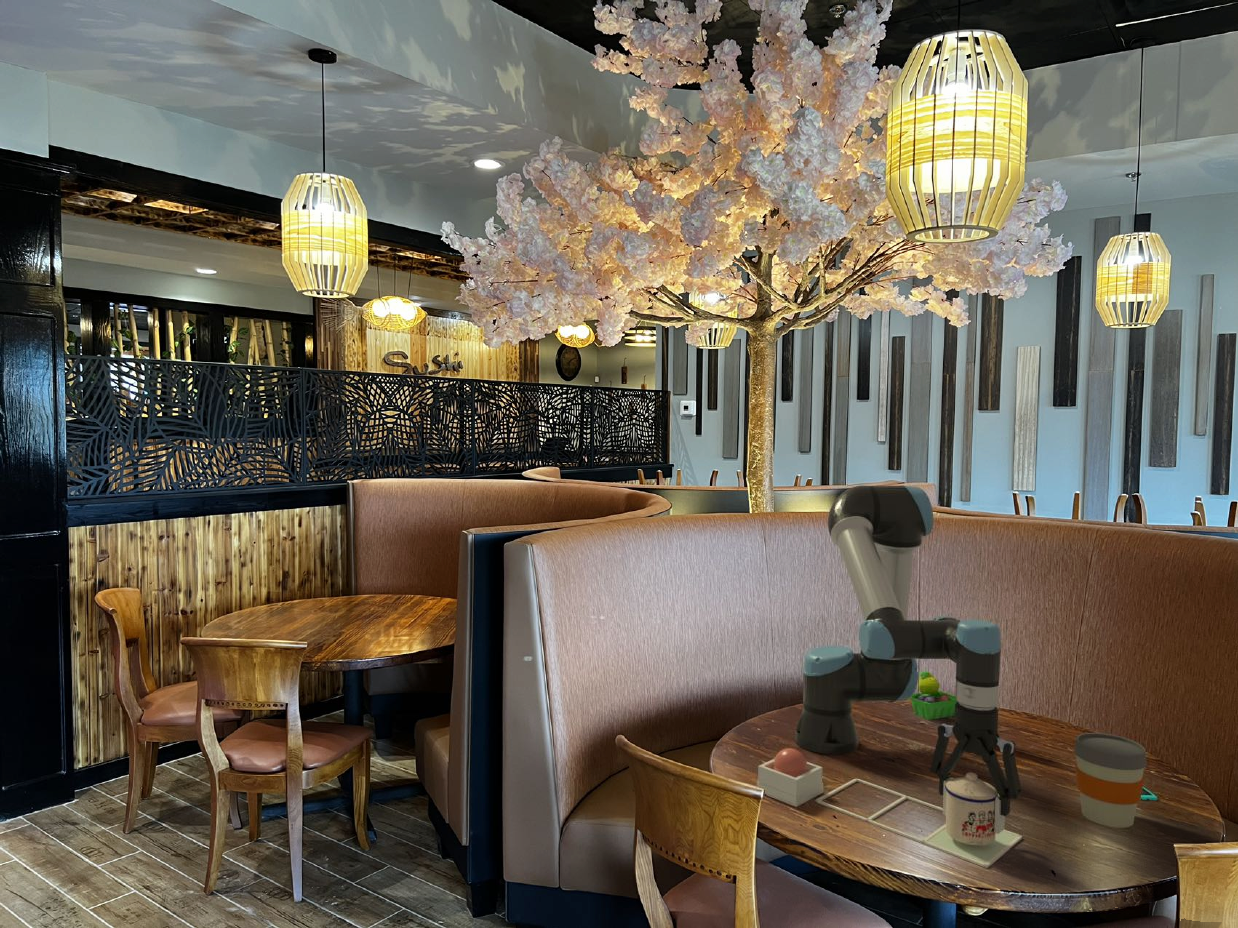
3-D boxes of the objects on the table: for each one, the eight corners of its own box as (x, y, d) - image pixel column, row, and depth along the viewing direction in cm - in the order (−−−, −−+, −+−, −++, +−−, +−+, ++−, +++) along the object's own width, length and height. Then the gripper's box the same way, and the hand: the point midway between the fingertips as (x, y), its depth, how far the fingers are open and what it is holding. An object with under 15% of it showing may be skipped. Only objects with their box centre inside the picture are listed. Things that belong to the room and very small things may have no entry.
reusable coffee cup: (1114, 801, 175) (1116, 731, 174) (1159, 830, 163) (1162, 754, 162) (1058, 804, 174) (1061, 733, 173) (1100, 833, 161) (1103, 757, 161)
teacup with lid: (963, 849, 152) (964, 786, 151) (934, 825, 160) (935, 766, 160) (1021, 843, 154) (1023, 781, 153) (990, 820, 163) (991, 761, 162)
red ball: (766, 781, 178) (767, 748, 178) (785, 772, 183) (786, 740, 182) (794, 791, 173) (795, 758, 173) (813, 782, 178) (814, 749, 177)
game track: (814, 801, 173) (815, 799, 173) (855, 779, 185) (856, 777, 185) (987, 868, 148) (987, 866, 148) (1022, 837, 159) (1022, 835, 159)
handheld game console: (1117, 771, 192) (1117, 766, 192) (1159, 803, 176) (1159, 796, 176) (1072, 770, 192) (1072, 765, 192) (1111, 801, 176) (1111, 795, 176)
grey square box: (756, 791, 178) (757, 765, 178) (783, 777, 185) (784, 753, 185) (796, 806, 171) (796, 780, 171) (823, 792, 178) (823, 767, 178)
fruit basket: (927, 722, 222) (928, 680, 221) (904, 711, 230) (905, 671, 229) (960, 717, 226) (962, 676, 225) (937, 707, 234) (938, 667, 234)
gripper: (912, 694, 162) (909, 808, 163) (1029, 724, 146) (1025, 849, 147) (930, 686, 167) (927, 796, 168) (1045, 714, 151) (1041, 835, 152)
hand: (972, 821), depth 158 cm, fingers closed on teacup with lid, 9 cm apart
